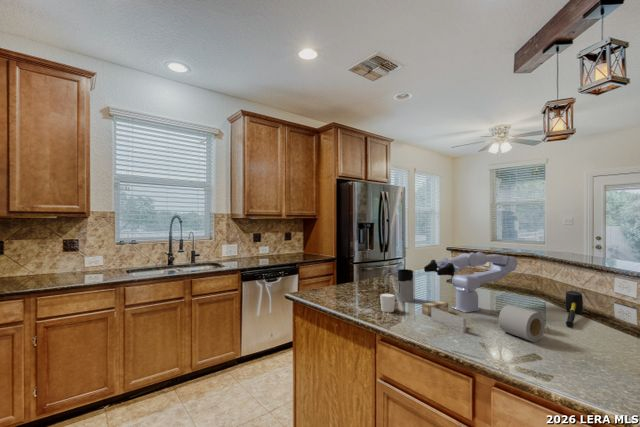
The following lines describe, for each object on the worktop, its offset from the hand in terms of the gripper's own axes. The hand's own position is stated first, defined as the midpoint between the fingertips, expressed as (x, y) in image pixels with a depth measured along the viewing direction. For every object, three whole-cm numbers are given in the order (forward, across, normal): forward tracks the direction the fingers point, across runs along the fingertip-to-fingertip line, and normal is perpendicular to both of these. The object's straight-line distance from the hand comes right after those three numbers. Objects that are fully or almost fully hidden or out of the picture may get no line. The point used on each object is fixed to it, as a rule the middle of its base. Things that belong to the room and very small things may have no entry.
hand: (431, 271), depth 135 cm
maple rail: (-1, -1, +20) cm, 20 cm away
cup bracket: (+5, +13, +18) cm, 23 cm away
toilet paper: (-9, +32, +21) cm, 39 cm away
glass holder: (0, -25, +20) cm, 32 cm away
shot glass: (+16, -13, +17) cm, 27 cm away
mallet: (-47, +28, +27) cm, 61 cm away
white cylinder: (-21, +26, +23) cm, 41 cm away
